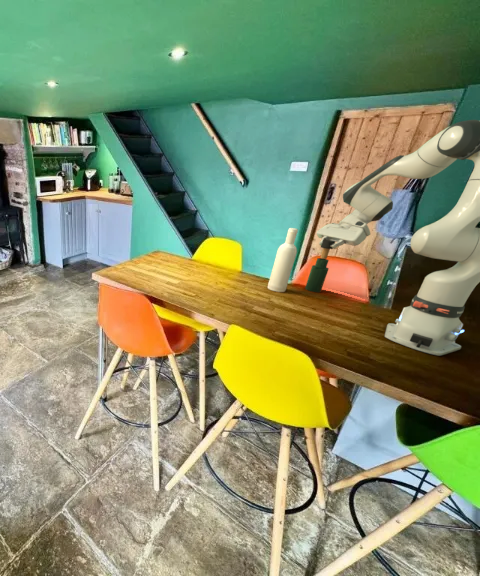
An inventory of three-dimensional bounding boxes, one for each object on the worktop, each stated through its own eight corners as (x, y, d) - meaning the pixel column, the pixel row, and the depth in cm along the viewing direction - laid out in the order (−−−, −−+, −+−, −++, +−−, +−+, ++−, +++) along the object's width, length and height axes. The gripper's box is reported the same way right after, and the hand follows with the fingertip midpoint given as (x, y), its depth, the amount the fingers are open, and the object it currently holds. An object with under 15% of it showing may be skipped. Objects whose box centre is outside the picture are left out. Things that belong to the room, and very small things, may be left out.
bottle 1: (286, 293, 143) (305, 230, 133) (267, 290, 146) (284, 228, 136) (284, 288, 150) (302, 228, 140) (266, 285, 153) (282, 226, 143)
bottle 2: (317, 293, 147) (327, 261, 141) (302, 288, 152) (312, 258, 146) (323, 291, 150) (333, 260, 145) (308, 287, 155) (318, 257, 150)
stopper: (326, 259, 142) (332, 242, 139) (315, 257, 146) (321, 240, 143) (331, 258, 145) (337, 241, 142) (320, 256, 148) (325, 239, 145)
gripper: (328, 217, 150) (305, 237, 151) (370, 224, 131) (343, 246, 133) (332, 227, 152) (310, 245, 154) (374, 234, 133) (348, 256, 135)
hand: (326, 246), depth 143 cm, fingers closed on stopper, 5 cm apart
